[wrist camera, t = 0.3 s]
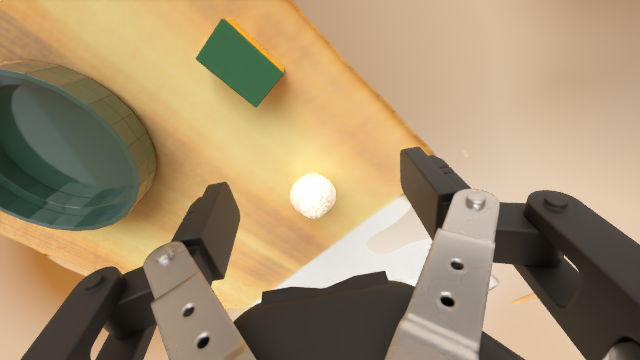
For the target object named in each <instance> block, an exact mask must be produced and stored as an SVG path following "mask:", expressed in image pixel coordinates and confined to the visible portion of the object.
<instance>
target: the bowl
mask: <svg viewBox="0 0 640 360" xmlns="http://www.w3.org/2000/svg"><path fill="white" fill-rule="evenodd" d="M155 172H156V159H155V150H154V148H153V145H152V143H151V140H150V138H149V135H148V133H147V131H146V129H145V128H144V127H143V125H142V124H141V122H140V121H139V119H138V118H137V117H136V115H135V114H134V113H133V112H132V111H131V110H130V109H129V108H128V107H127V106H126V105H125V104H124V103H123V102H122V101H121V100H120V99H119V98H118V97H117V96H116V95H115V94H113V93H112V92H111V91H109V90H108V89H106V88H105V87H103V86H101V85H100V84H98V83H97V82H95V81H94V80H92V79H91V78H89V77H87V76H85V75H82V74H80V73H78V72H75V71H73V70H71V69H68V68H66V67H63V66H60V65H55V64H50V63H46V62H41V61H36V60H18V61H4V62H0V210H1V211H3V212H5V213H7V214H9V215H12V216H14V217H16V218H19V219H21V220H24V221H26V222H29V223H33V224H37V225H40V226H44V227H48V228H52V229H61V230H70V231H82V230H95V229H99V228H102V227H106V226H109V225H112V224H114V223H116V222H117V221H119V220H120V219H122V218H123V217H125V216H126V215H128V213H129V212H130V211H131V210H132V209H133V208H134V206H135V205H136V204H137V203H138V202H139V201H140V199H141V198H142V197H143V196H144V195H145V193H146V192H147V191H148V189H149V188H150V186H151V185H152V183H153V180H154V176H155Z"/></svg>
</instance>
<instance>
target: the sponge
mask: <svg viewBox="0 0 640 360" xmlns="http://www.w3.org/2000/svg"><path fill="white" fill-rule="evenodd" d="M196 60H197V61H199V62H200V63H201V64H202V65H204V66H205V67H206V68H207V69H209V70H210V71H211V72H212V73H213V74H215V75H216V76H217V77H218V78H220V79H221V80H222V81H223V82H225V83H226V84H227V85H228V86H230V87H231V88H232V89H233V90H235V91H236V92H237V93H238V94H240V95H241V96H242V97H243V98H245V99H246V100H247V101H248V102H250V103H251V104H252V105H253V106H255V107H257V106H258V105H259V104H260V103H261V101H262V100H263V99H264V98H265V96H266V95H267V94H268V93H269V92H270V90H271V89H272V88H273V87H274V85H275V84H276V83H277V82H278V80H279V79H280V78H281V77H282V76H283V72H284V67H283V66H282V65H281V64H280V63H279V62H278V61H277V60H276V59H275V58H274V57H272V56H271V55H270V54H269V53H268V52H267V51H266V50H265V49H264V48H263V47H262V46H261V45H259V44H258V43H257V42H256V41H255V40H254V39H253V38H252V37H251V36H250V35H249V34H248V33H247V32H245V31H244V30H243V29H242V28H241V27H240V26H239V25H238V24H237V23H236V22H235V21H234V20H232V19H221V20H220V22H219V24H218V25H217V27H216V28H215V30H214V31H213V33H212V34H211V36H210V37H209V39H208V40H207V42H206V44H205V45H204V47H203V48H202V50H201V51H200V53H199V54H198V56H197V57H196Z"/></svg>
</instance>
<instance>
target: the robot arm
mask: <svg viewBox="0 0 640 360" xmlns="http://www.w3.org/2000/svg"><path fill="white" fill-rule="evenodd" d="M400 173H401V186H402V189H403V192H404V193H405V195H406V197H407V198H408V200H409V202H410V203H411V205H412V207H413V208H414V210H415V212H416V213H417V215H418V217H419V218H420V220H421V222H422V223H423V225H424V227H425V229H426V230H427V232H428V234H429V235H430V237H431V239H432V240H433V242H432V245H431V248H430V250H429V253H428V255H427V258H426V261H425V263H424V266H423V269H422V271H421V274H420V277H419V279H418V282H417V284H416V287H414V286H412V285H409V284H406V283H402V282H398V281H390V280H388V278H387V276H386V273H385V271H381V272H375V273H369V274H363V275H357V276H353V277H351V278H349V279H346V280H344V281H341V282H339V283H337V284H334V285H332V286H330V287H327V288H323V289H320V288H304V287H288V288H282V289H276V290H270V291H265V292H263V293H262V301H261V303H259V304H257V305H255V306H253V307H251V308H250V309H248V310H247V311H245V312H244V313H243V314H242V315H240V316H239V317H238V318H237V319H236V320H235V321H234V322H232V320H231V319H230V317H229V315H228V314H227V312H226V311H225V309H224V307H223V306H222V304H221V303H220V301H219V299H218V298H217V296H216V295H215V293H214V291H213V290H212V288H211V285H212V281H215V280H220V279H224V277H225V273H226V270H227V266H228V262H229V259H230V255H231V251H232V248H233V244H234V240H235V237H236V233H237V230H238V226H239V222H240V212H239V208H238V206H237V204H236V201H235V199H234V197H233V194H232V192H231V190H230V187H229V185H228V184H227V183H226V182H222V183H217V184H211V185H208V187H207V188H206V190H205V192H204V194H203V196H202V197H199V198H198V199H197V200H196V201H195V202H194V203H193V204H192V205H191V206H190V208H189V210H188V212H187V215H185V217H184V219H183V222H181V224H180V226H179V228H178V230H177V231H176V233H175V235H174V237H173V239H172V241H171V242H170V243H167V244H164V245H162V246H160V247H159V248H157V249H156V250H154V251H153V252H152V253H151V254H150V255H149V256H148V257H147V258H146V260H145V262H144V265H143V266H142V267H140V268H137V269H135V270H132V271H130V272H127V273H125V274H123V275H122V273H121V272H120V271H119V270H118V269H117V268H116V267H113V266H112V267H105V268H102V269H99V270H97V271H95V272H93V273H91V274H90V275H88V276H87V277H85V278H84V279H83V280H82V281H81V282H79V283H78V284H77V285H76V287H75V288H74V289H73V290H72V292H71V293H70V294H69V296H68V297H67V298H66V300H65V301H64V303H63V304H62V305H61V306H60V308H59V309H58V310H57V312H56V313H55V315H54V316H53V317H52V319H51V320H50V321H49V322H48V324H47V325H46V327H45V328H44V329H43V330H42V332H41V333H40V335H39V336H38V337H37V338H36V340H35V341H34V342H33V344H32V345H31V347H30V348H29V349H28V351H27V352H26V353H25V354H24V356H23V357H22V359H21V360H91V359H90V353H91V348H92V346H93V344H94V342H95V340H96V338H97V337H98V335H99V333H100V331H101V330H102V328H104V329H105V330H106V331H108V332H109V335H108V337H107V339H106V341H105V342H104V344H103V346H102V348H101V350H100V352H99V354H98V356H97V358H96V360H143V359H144V356H145V354H146V351H147V349H148V346H149V344H150V341H151V339H152V336H153V334H154V331H155V329H156V326H157V325H158V328H159V331H160V334H161V337H162V340H163V343H164V346H165V349H166V352H167V355H168V358H169V360H525V359H523V358H522V357H520V356H519V355H517V354H516V353H515V352H513V351H512V350H510V349H509V348H507V347H506V346H504V345H503V344H501V343H500V342H498V341H497V340H495V339H494V338H492V337H491V336H489V335H488V334H486V333H485V332H483V331H482V328H483V321H484V313H485V308H486V301H487V295H488V288H489V282H490V275H491V269H492V262H494V263H505V264H513V265H514V267H515V268H516V269H517V271H518V272H519V273H520V275H521V276H522V277H523V278H524V280H525V281H526V282H527V283H528V285H529V286H530V288H531V289H532V290H533V291H534V293H535V294H536V295H537V297H538V298H539V299H540V300H541V302H542V303H543V304H544V306H545V307H546V308H547V310H548V311H549V312H550V314H551V315H552V316H553V317H554V318H555V320H556V321H557V323H558V324H559V325H560V326H561V328H562V329H563V330H564V331H565V333H566V334H567V336H568V337H569V338H570V339H571V341H572V342H573V343H574V345H575V346H576V347H577V349H578V350H579V351H580V352H581V354H582V355H583V356H584V358H585V359H586V360H640V245H639V244H638V243H636V242H635V241H634V240H632V239H631V238H630V237H628V236H627V235H625V234H624V233H623V232H621V231H620V230H619V229H617V228H616V227H615V226H613V225H612V224H610V223H609V222H608V221H606V220H605V219H604V218H602V217H601V216H599V215H598V214H596V213H595V212H594V211H593V210H591V209H590V208H588V207H587V206H586V205H584V204H583V203H582V202H580V201H579V200H577V199H576V198H574V197H572V196H570V195H567V194H564V193H561V192H556V191H548V190H543V191H536V192H533V193H531V194H530V195H529V196H528V199H527V202H526V203H503V202H499V200H498V199H497V198H496V197H495V196H494V195H492V194H490V193H488V192H486V191H483V190H478V189H471V188H470V187H469V186H468V185H467V184H466V183H465V182H464V181H463V180H462V179H461V178H460V177H459V176H458V175H457V174H456V173H454V171H453V170H452V169H451V168H450V167H449V165H447V163H445V161H444V160H442V159H440V158H438V157H436V156H434V155H430V156H427V155H426V153H425V152H424V151H423V150H422V149H421V148H420V147H414V148H408V149H403V150H401V153H400ZM564 255H565V256H566V257H567V258H568V259H569V260H570V261H571V262H572V263H573V264H574V265H575V266H576V268H577V269H578V271H579V272H578V271H577V270H576V269H575V268H574V267H573V266H572V265H571V264H570V263H569V262H568V261H567V260H566V259H565V258H564Z"/></svg>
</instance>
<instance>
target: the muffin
mask: <svg viewBox="0 0 640 360" xmlns="http://www.w3.org/2000/svg"><path fill="white" fill-rule="evenodd" d="M290 201H291V203H292V205H293V207H294V208H295V209H296V210H297V211H298V212H299V213H301V214H303V215H304V216H307V218H312V219H315V218H319V217H320V216H323V214H325V213H326V212H327V211H328V210H330V209H331V208H332V207H333V205H334V203H335V201H336V190H335V187H334V186H333V184H332V183H331V182H330V181H329V180H328V179H327V178H325V176H322V175H320V174H317V173H309V174H306V175H304V176H302V177H300V179H298V180H297V182H295V184H294V185H293V187H292V189H291V192H290Z"/></svg>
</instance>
